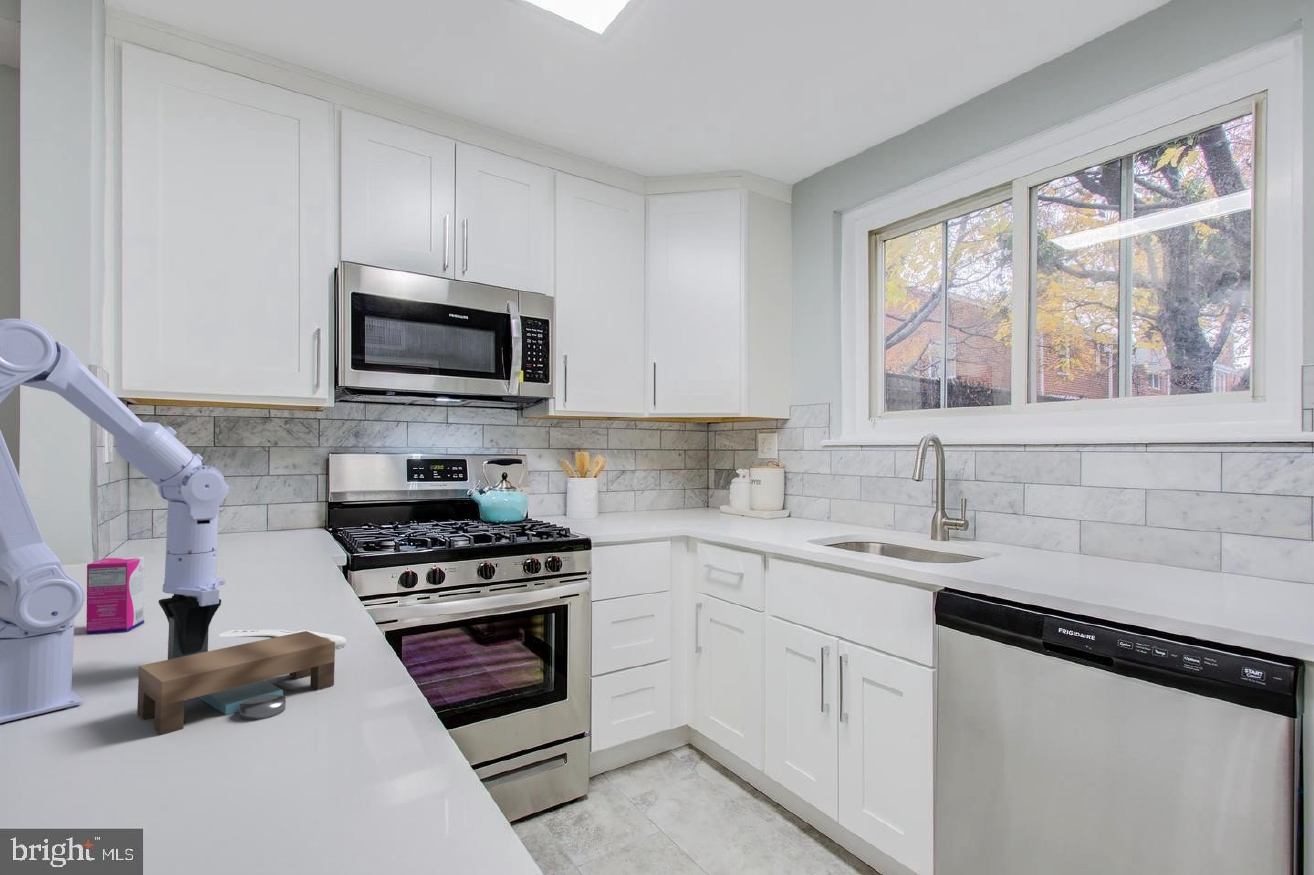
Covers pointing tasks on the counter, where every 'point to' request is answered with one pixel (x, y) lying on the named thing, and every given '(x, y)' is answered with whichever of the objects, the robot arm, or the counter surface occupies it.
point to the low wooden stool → (229, 673)
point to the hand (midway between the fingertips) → (188, 650)
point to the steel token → (262, 707)
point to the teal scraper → (223, 699)
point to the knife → (276, 633)
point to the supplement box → (115, 595)
